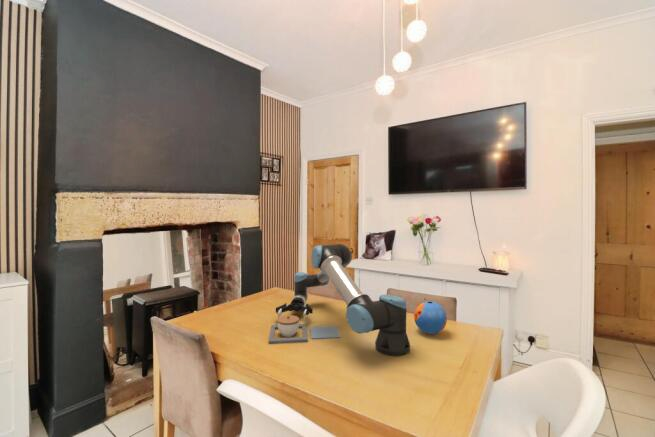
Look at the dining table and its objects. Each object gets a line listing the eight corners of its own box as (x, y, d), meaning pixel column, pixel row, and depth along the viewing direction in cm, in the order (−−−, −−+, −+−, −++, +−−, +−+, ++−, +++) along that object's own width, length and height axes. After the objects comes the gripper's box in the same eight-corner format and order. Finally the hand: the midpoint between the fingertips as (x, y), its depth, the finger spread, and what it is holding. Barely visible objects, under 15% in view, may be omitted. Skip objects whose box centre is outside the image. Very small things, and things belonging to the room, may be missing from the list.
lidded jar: (301, 330, 161) (301, 312, 161) (297, 339, 151) (296, 319, 150) (280, 329, 162) (280, 311, 162) (275, 338, 152) (274, 319, 151)
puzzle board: (307, 342, 148) (307, 339, 148) (268, 343, 146) (268, 341, 146) (306, 325, 167) (306, 323, 167) (271, 327, 166) (271, 325, 165)
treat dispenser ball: (449, 340, 149) (449, 308, 148) (415, 337, 152) (415, 306, 151) (443, 328, 164) (444, 298, 164) (413, 325, 167) (413, 297, 167)
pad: (340, 337, 152) (340, 336, 152) (311, 339, 151) (311, 338, 151) (336, 326, 166) (336, 325, 166) (310, 327, 165) (310, 327, 165)
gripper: (319, 309, 185) (315, 323, 164) (277, 309, 187) (267, 322, 166) (319, 297, 185) (315, 308, 164) (277, 296, 187) (267, 307, 166)
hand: (291, 315), depth 165 cm, fingers open, 13 cm apart
